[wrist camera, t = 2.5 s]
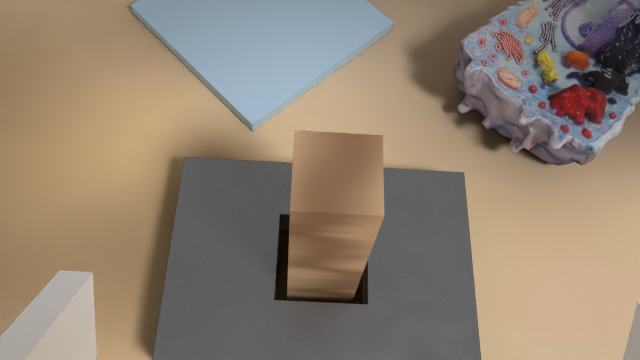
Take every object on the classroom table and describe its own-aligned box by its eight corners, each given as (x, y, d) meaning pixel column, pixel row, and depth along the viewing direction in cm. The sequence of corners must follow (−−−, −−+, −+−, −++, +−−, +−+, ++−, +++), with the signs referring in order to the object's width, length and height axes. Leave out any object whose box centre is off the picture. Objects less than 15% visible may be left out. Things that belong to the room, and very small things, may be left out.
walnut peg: (351, 244, 43) (382, 135, 30) (350, 304, 41) (384, 216, 28) (290, 241, 43) (294, 130, 30) (286, 301, 41) (289, 210, 28)
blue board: (391, 30, 53) (393, 22, 52) (252, 131, 47) (252, 124, 46) (272, -68, 58) (271, -77, 57) (132, 13, 52) (130, 4, 51)
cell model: (757, -32, 43) (621, 139, 36) (672, 60, 53) (551, 210, 46) (603, -119, 47) (451, 21, 40) (549, -18, 57) (419, 110, 49)
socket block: (453, 190, 46) (464, 172, 43) (468, 382, 39) (482, 374, 37) (189, 176, 45) (184, 156, 42) (161, 369, 38) (152, 360, 36)
